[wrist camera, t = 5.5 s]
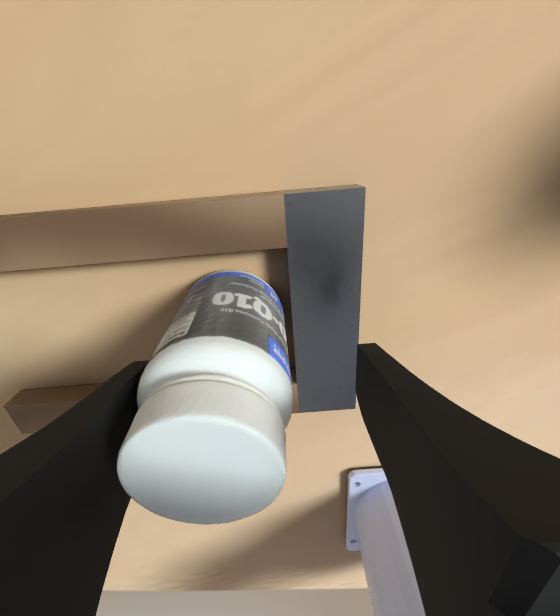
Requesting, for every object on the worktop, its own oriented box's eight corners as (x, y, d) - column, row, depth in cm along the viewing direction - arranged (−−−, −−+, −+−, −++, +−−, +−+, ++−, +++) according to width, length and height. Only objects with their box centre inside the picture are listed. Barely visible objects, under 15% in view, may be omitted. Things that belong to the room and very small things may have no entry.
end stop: (350, 392, 17) (355, 408, 16) (297, 396, 17) (298, 412, 16) (357, 184, 12) (365, 187, 11) (282, 190, 12) (283, 194, 11)
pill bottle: (302, 306, 15) (345, 466, 7) (243, 368, 16) (227, 554, 9) (221, 245, 13) (167, 366, 6) (164, 319, 15) (60, 494, 7)
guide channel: (297, 396, 17) (298, 412, 16) (37, 416, 17) (22, 433, 16) (282, 190, 12) (283, 194, 11) (-82, 222, 12) (-115, 229, 11)
